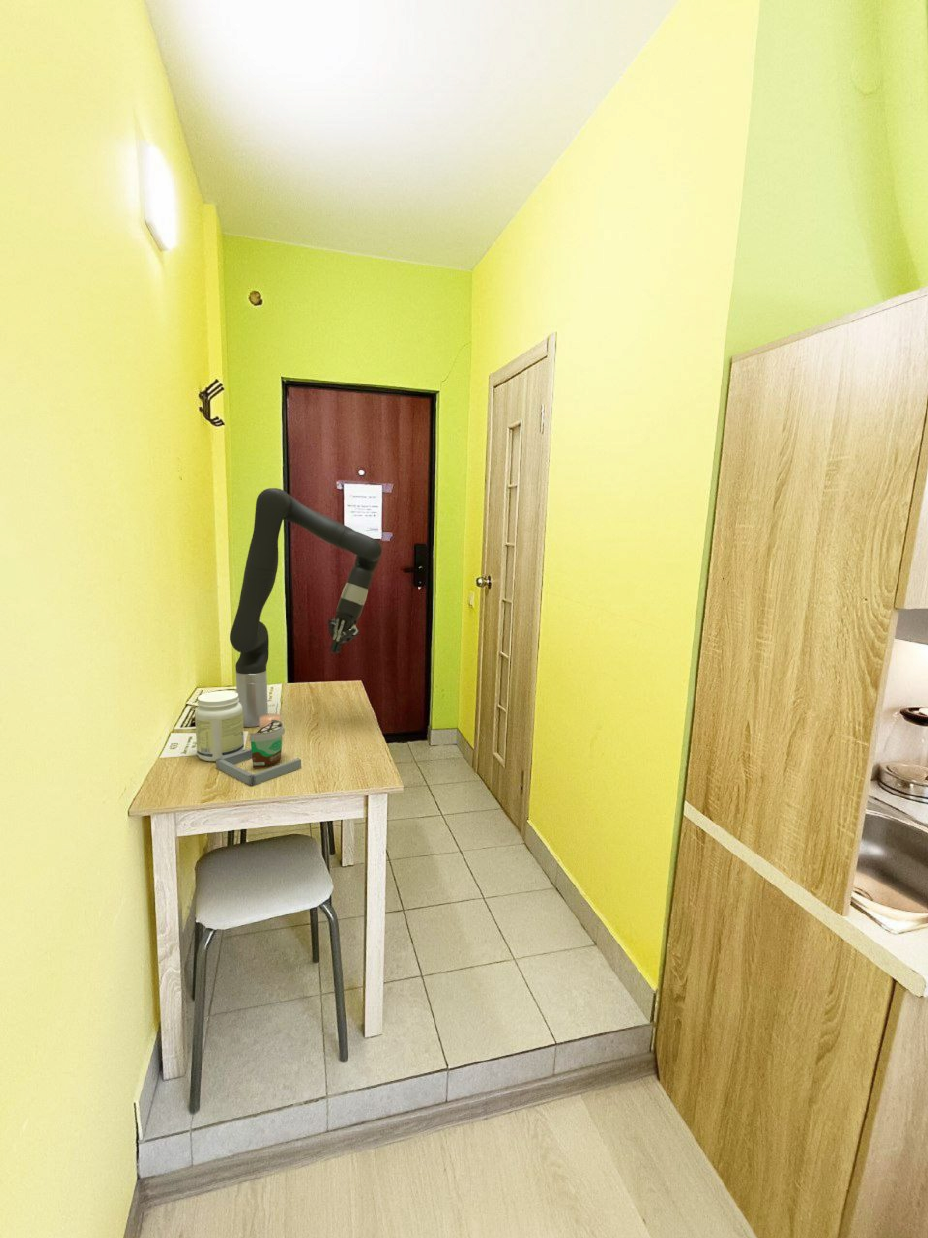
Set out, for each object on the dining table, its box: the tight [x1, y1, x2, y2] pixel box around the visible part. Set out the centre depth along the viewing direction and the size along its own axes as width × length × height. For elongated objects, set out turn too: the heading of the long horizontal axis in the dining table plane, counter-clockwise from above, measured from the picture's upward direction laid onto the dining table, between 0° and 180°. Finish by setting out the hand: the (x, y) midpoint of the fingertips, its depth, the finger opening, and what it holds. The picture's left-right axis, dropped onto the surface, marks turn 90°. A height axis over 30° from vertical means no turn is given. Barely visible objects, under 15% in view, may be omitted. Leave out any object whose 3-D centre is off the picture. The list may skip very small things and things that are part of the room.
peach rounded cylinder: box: [259, 713, 282, 730], centre depth 172 cm, size 6×6×8 cm
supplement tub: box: [194, 690, 245, 762], centre depth 162 cm, size 12×12×17 cm
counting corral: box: [215, 748, 302, 787], centre depth 155 cm, size 16×15×2 cm
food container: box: [248, 719, 286, 769], centre depth 158 cm, size 12×6×10 cm, turn 170°
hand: (334, 652), depth 181 cm, fingers closed
